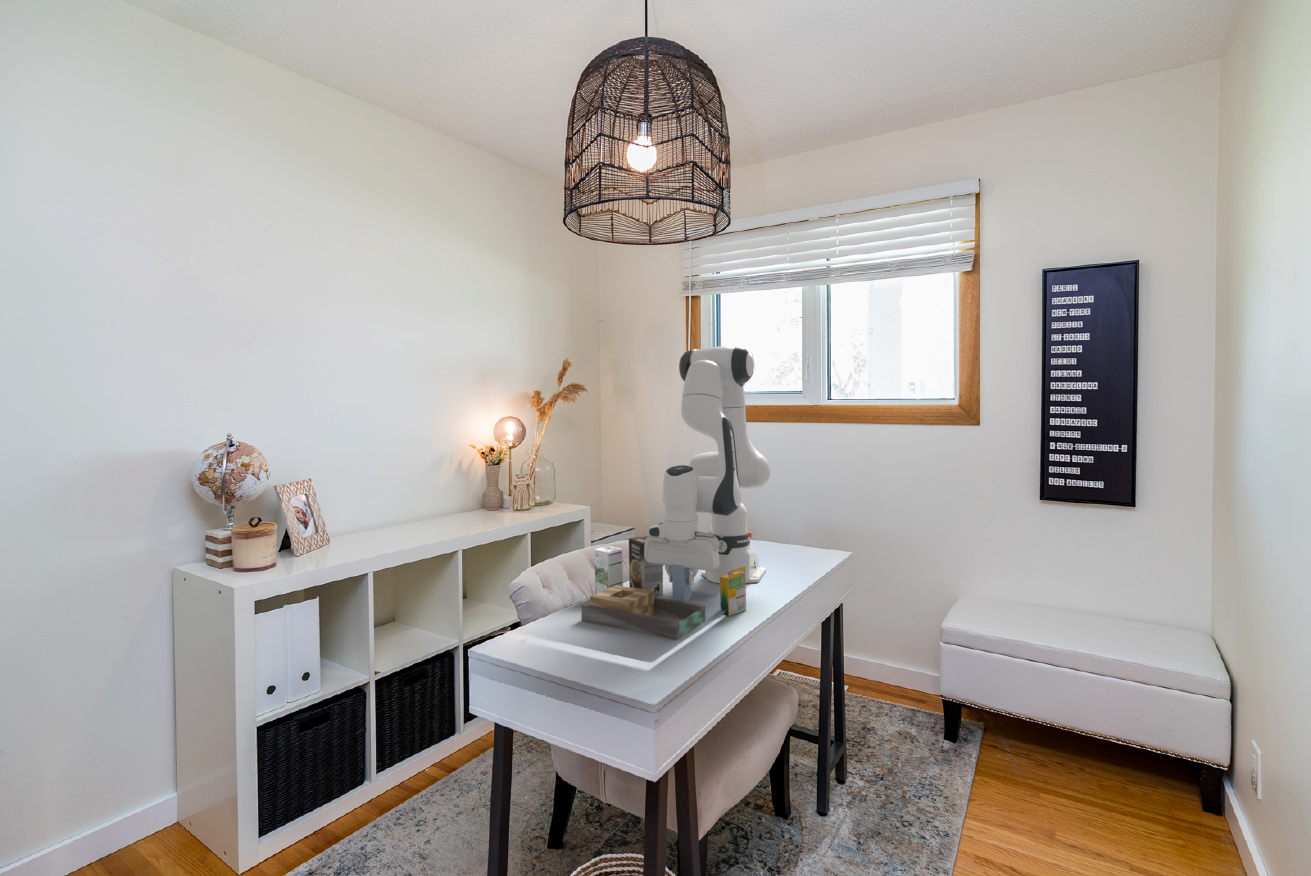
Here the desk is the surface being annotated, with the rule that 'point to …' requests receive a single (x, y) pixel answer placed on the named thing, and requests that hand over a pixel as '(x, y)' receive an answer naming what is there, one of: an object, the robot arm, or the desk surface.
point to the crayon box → (733, 592)
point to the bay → (650, 618)
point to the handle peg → (680, 583)
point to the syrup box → (608, 568)
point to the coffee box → (643, 568)
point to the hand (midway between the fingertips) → (681, 583)
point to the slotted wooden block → (625, 600)
